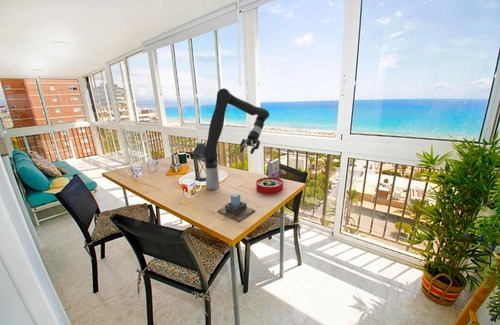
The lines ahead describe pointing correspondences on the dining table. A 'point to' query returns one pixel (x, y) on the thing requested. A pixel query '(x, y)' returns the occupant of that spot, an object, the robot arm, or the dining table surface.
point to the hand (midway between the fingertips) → (245, 152)
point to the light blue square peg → (235, 200)
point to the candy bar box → (273, 168)
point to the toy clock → (269, 185)
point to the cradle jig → (236, 211)
